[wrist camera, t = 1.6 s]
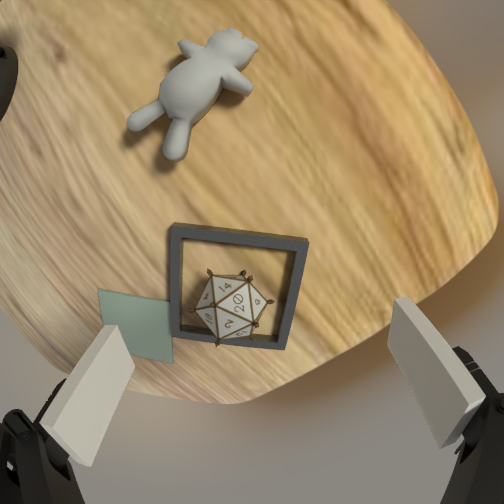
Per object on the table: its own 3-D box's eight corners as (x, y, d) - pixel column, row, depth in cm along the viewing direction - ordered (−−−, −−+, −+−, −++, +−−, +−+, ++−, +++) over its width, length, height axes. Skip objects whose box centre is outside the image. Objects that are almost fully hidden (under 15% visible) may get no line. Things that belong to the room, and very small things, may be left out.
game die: (223, 268, 38) (182, 254, 29) (284, 277, 35) (260, 264, 26) (211, 333, 37) (168, 338, 27) (272, 347, 34) (244, 361, 24)
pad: (109, 347, 39) (108, 349, 39) (98, 288, 35) (97, 289, 35) (173, 361, 39) (172, 363, 39) (170, 301, 36) (170, 302, 35)
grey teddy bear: (283, 54, 22) (178, 169, 24) (275, 71, 27) (187, 170, 29) (208, 7, 20) (107, 115, 22) (211, 28, 24) (125, 123, 27)
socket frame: (173, 330, 37) (171, 336, 36) (174, 222, 32) (170, 225, 30) (283, 343, 38) (284, 350, 36) (307, 238, 32) (309, 242, 31)
